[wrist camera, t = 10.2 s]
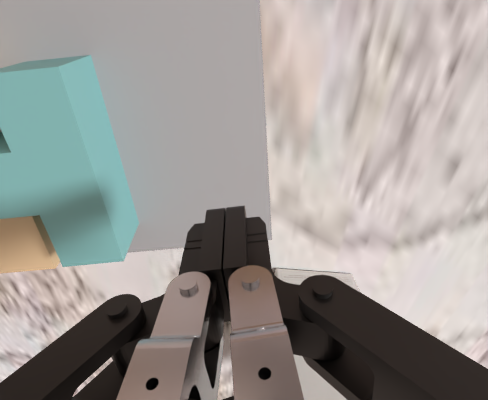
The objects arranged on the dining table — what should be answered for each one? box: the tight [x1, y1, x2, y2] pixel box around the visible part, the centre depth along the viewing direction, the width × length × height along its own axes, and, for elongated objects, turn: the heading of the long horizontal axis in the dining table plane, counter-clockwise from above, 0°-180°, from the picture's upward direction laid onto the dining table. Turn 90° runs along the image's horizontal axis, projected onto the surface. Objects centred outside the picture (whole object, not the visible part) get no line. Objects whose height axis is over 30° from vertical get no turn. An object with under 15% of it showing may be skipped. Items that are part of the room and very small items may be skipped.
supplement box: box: [274, 268, 361, 400], centre depth 27 cm, size 7×7×13 cm
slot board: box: [0, 0, 272, 273], centre depth 23 cm, size 26×18×4 cm
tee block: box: [0, 55, 139, 267], centre depth 22 cm, size 12×12×4 cm
